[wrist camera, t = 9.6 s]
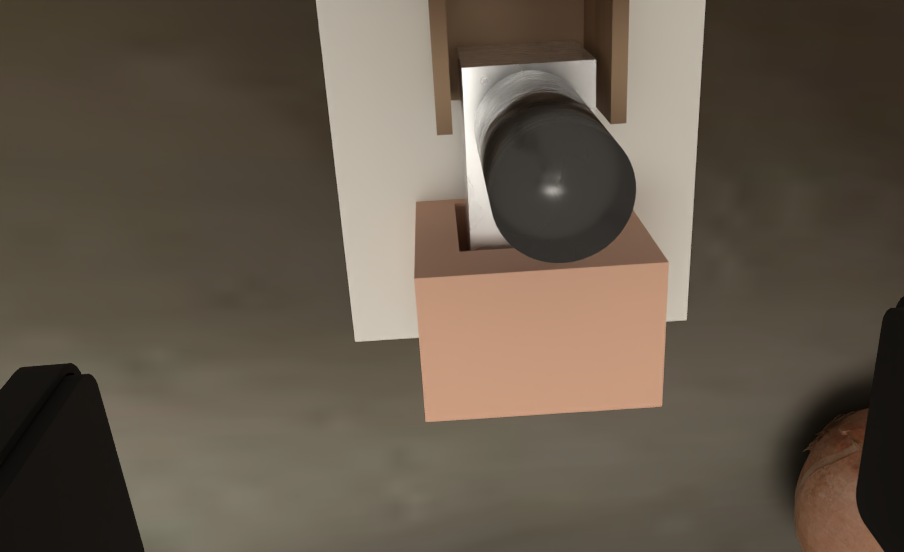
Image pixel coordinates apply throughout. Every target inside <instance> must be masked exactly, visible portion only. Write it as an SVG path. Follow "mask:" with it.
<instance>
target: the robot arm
mask: <svg viewBox="0 0 904 552" xmlns="http://www.w3.org/2000/svg"><path fill="white" fill-rule="evenodd" d="M856 503H857V507H858V511H859V514H860V517H861V519H862V521H863V522H864V524H865V525H866V527H867V528H868V530H869V531H870V532H871V534H872V535H873V537H874V538H875V539H876V541H877V542H878V544H879V545H880V546H881V548H882V549H883V551H884V552H904V297H902V298H901V299H900V301H899V302H898V304H897V306H896V308H890V309H889V310H887V311H886V313H885V315H884V317H883V321H882V326H881V333H880V339H879V346H878V352H877V358H876V365H875V371H874V378H873V384H872V391H871V397H870V403H869V410H868V416H867V423H866V429H865V435H864V442H863V448H862V455H861V461H860V467H859V474H858V480H857V487H856ZM0 552H144V547H143V544H142V540H141V537H140V533H139V530H138V526H137V523H136V519H135V515H134V512H133V508H132V505H131V501H130V498H129V494H128V490H127V487H126V483H125V480H124V476H123V473H122V469H121V466H120V462H119V458H118V455H117V451H116V448H115V444H114V441H113V437H112V433H111V430H110V426H109V423H108V419H107V416H106V412H105V409H104V405H103V401H102V398H101V394H100V391H99V387H98V384H97V382H96V380H95V378H94V377H93V376H92V375H90V374H81V372H80V371H79V369H78V368H77V366H75V365H74V364H72V363H68V364H55V365H43V366H31V367H21V368H19V369H18V370H17V371H16V372H15V373H14V374H13V375H12V376H11V378H10V379H9V380H8V381H7V382H6V384H5V385H4V386H3V387H2V389H1V390H0Z"/></svg>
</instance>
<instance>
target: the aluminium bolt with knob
mask: <svg viewBox="0 0 904 552" xmlns="http://www.w3.org/2000/svg"><path fill="white" fill-rule="evenodd" d="M457 63H458V82H459V100H460V119H461V138H462V156H463V175H464V194H465V213H466V231H467V250H468V251H478V250H493V249H509V248H515V249H516V250H518V251H519V252H520V253H522V254H524V255H526V256H528V257H530V258H533V259H535V260H539V261H543V262H549V263H568V262H574V261H578V260H582V259H585V258H587V257H590V256H592V255H594V254H596V253H598V252H600V251H601V250H603V249H604V248H606V247H607V246H608V245H609V244H610V243H612V242H613V241H614V240H615V239H616V238H617V236H618V235H619V234H620V233H621V232H622V230H623V229H624V227H625V226H626V224H627V222H628V220H629V218H630V216H631V213H632V211H633V208H634V203H635V198H636V180H635V174H634V170H633V167H632V164H631V162H630V160H629V158H628V156H627V155H626V153H625V152H624V150H623V149H622V148H621V146H620V145H619V144H618V143H617V141H616V140H615V139H614V138H613V136H612V135H611V134H610V133H609V132H608V130H607V129H606V128H605V127H604V125H603V124H602V123H601V122H600V120H599V119H598V118H597V117H596V59H595V58H594V57H593V56H592V55H591V54H590V53H589V52H588V51H586V50H585V49H584V48H583V47H582V46H581V45H580V44H579V43H578V42H577V41H575V40H560V41H544V42H528V43H512V44H496V45H481V46H465V47H457Z"/></svg>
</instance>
